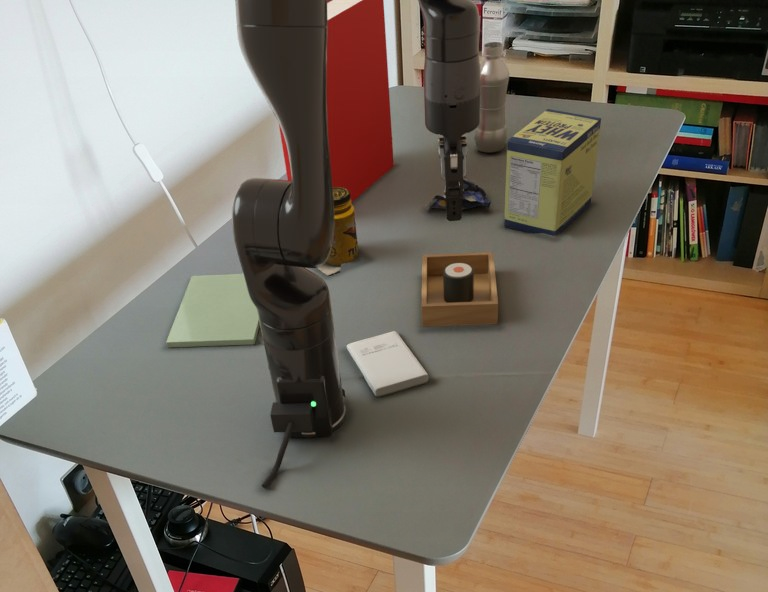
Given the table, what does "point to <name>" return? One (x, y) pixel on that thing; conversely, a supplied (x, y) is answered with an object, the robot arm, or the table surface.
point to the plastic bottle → (492, 99)
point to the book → (356, 95)
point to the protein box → (550, 171)
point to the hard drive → (387, 363)
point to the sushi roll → (458, 283)
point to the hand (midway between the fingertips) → (453, 205)
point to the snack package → (464, 197)
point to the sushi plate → (215, 313)
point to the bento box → (459, 313)
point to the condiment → (342, 233)
